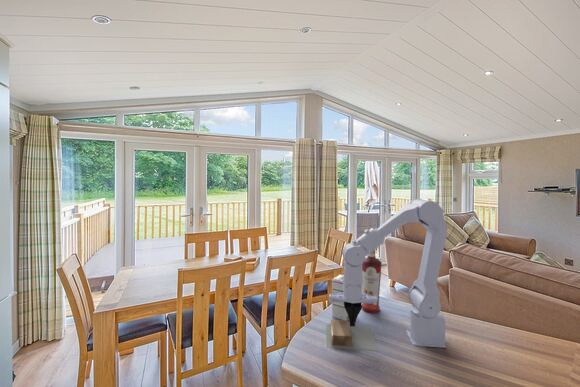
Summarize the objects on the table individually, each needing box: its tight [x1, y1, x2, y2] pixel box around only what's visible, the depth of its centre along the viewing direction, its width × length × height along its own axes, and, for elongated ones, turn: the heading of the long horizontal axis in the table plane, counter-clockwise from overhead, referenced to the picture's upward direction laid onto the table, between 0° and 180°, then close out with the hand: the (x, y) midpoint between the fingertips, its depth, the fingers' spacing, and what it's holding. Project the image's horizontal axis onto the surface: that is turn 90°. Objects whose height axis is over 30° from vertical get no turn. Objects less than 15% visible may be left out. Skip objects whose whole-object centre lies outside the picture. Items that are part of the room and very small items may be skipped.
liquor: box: [361, 249, 383, 313], centre depth 108 cm, size 7×7×28 cm
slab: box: [330, 319, 352, 346], centre depth 90 cm, size 3×9×6 cm
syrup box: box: [331, 274, 349, 321], centre depth 104 cm, size 6×6×14 cm
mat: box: [325, 324, 379, 352], centre depth 91 cm, size 15×13×1 cm
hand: (352, 324), depth 90 cm, fingers closed
